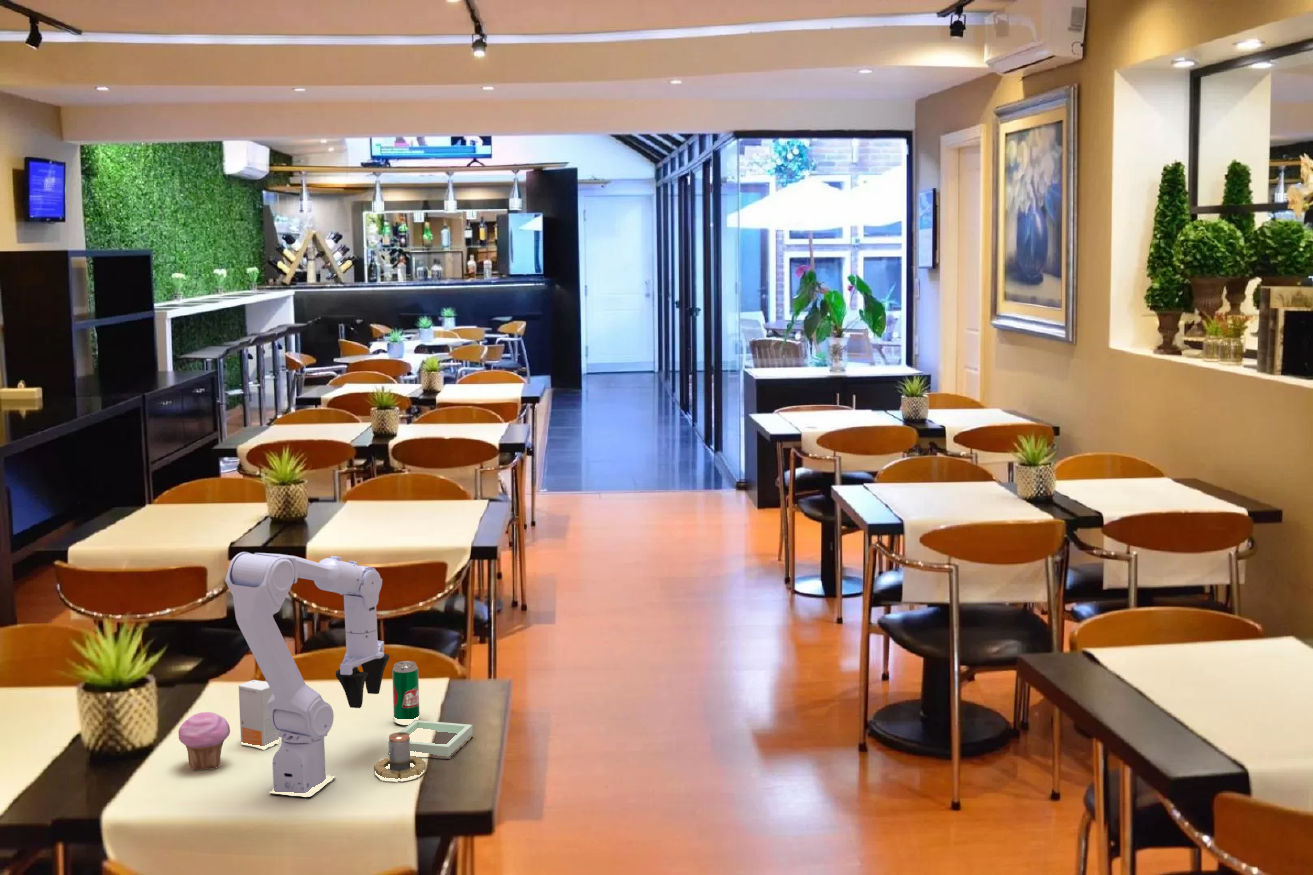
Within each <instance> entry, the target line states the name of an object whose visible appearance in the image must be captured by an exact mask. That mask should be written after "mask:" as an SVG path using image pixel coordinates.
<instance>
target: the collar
mask: <svg viewBox="0 0 1313 875" xmlns="http://www.w3.org/2000/svg"><path fill="white" fill-rule="evenodd" d="M410 763H413V764H414V765H415V766H414V767H413V768H410V769H406V770H401V771H395V770H390V769H389V770H387V769H386V768H385V767H386V766H388V764H390V756H389V757H386V758H383V759H380V760H379V761H378V762H376V764H374V767H373V771H374V770H375V771H376V773H377V774H378V775H380V776H382V777H384V778H385V777H386V778H395V779H398V778H400V779H402V778H408V777H410V776H414V775H420V774H421V772H423V770H425V769H426V770H427V762H425V760H423V758H422V757H416V756H410Z"/></svg>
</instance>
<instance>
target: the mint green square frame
mask: <svg viewBox="0 0 1313 875" xmlns="http://www.w3.org/2000/svg"><path fill="white" fill-rule="evenodd" d="M473 727H474V726H473V724H468V723H467V724H464V723H455V722H454V723H453V722H442V721H430V720H420V719H419V720H414V721H413V722H412V723H411V724H409V725H408V726H405V727H404V728H403V729H402V730H401V731H400V732H405V733H408V734H409V735H410V734H411V733H412V732H414V731H415V730H416V729H417V728H423V729H431V730H435V731H437V732H448V733H456V734H457V735H455V736H454V737H453V738H452V739H451V740H450V741H449V742H448V743H447V744H435V743H423V742H412V741H410V751H414V752H415V751H416V752H422V753H429V754H433V755H437V756H446V757H449V756H450V755H451V753H453V752H454V751H455V750H456V749H458V748H459V746H460V745H462V744H463V742H464V741H465V740H467V739H468V737H469V736H471V735H472V734H473V733H474V730H473V729H474V728H473ZM473 735H474V734H473ZM387 743H388V744H387V746H388V749H389V740H388V742H387Z"/></svg>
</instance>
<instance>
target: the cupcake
mask: <svg viewBox="0 0 1313 875" xmlns="http://www.w3.org/2000/svg"><path fill="white" fill-rule="evenodd" d="M230 734H231V728H230V724H229V722H228V721H227V719H226V718H225V717H223V716H221V715H219V714H217V713H215V712H210V711H209V712H208V711H206V712H205V711H204V712H199V713H195V714H193V715H191V716H190V717H188V718H187V719H186V720H185V721H184V722H182V723H181V725H180V726H179V728H178V740H179V741H180V743H181V744H183V745H184V746H185V748H186V749H187V751H186V752H187V755H188V756H187V757H188V758H187V759H188V765H189V767H190V769H192V770H193V771H200V770H208V769H209V770H210V768H214V769H217V768H216V767H218V766H219V767H220V764H221V754H222V749H223V744H224V742H225V740H226V739H228V737H229V736H230ZM219 767H218V768H219Z"/></svg>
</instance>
